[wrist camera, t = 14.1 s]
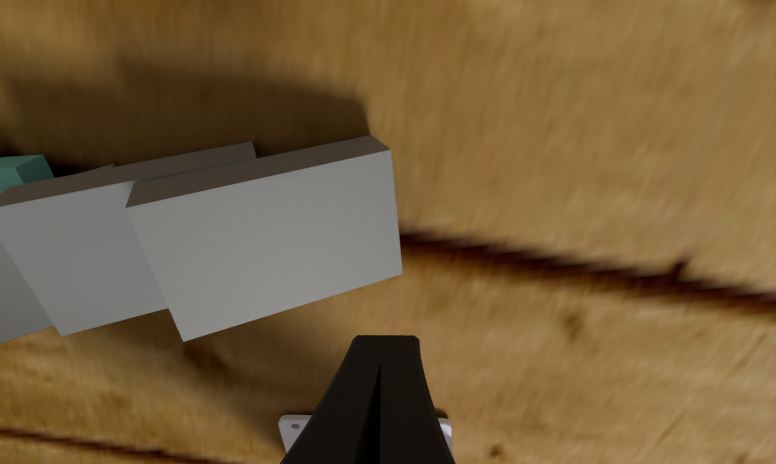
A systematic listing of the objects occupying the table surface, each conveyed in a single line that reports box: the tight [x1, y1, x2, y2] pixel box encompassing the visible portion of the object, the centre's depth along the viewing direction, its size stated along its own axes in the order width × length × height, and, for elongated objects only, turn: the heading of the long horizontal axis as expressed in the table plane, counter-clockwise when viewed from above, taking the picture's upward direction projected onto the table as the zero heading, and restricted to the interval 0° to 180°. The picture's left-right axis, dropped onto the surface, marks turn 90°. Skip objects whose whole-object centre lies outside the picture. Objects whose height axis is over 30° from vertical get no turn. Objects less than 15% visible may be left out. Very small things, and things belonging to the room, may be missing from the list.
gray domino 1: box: [0, 141, 257, 336], centre depth 16 cm, size 2×5×8 cm
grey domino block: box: [0, 164, 116, 343], centre depth 17 cm, size 2×5×8 cm
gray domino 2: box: [125, 135, 403, 342], centre depth 15 cm, size 2×5×8 cm
